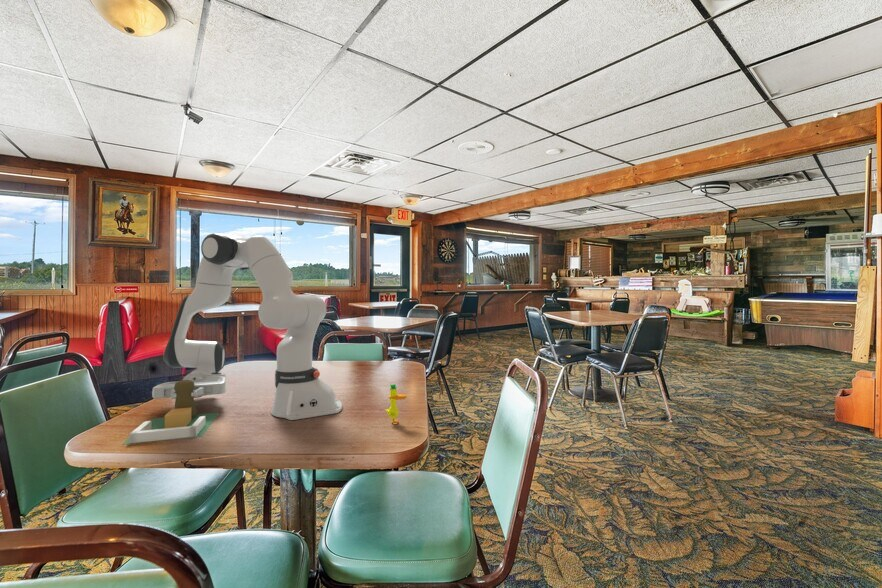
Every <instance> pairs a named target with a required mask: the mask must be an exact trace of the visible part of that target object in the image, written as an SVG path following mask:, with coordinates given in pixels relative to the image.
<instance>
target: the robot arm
mask: <svg viewBox="0 0 882 588" xmlns="http://www.w3.org/2000/svg"><path fill="white" fill-rule="evenodd" d="M200 250H201V255H202V258H201V260H200V263H199V266H198V269H197V273H196V281H195V286H194V289H193V290H192V292H191V293H190V294H188V295H186V296H184V298H183V299H182V301H181V303H180V306H179V308H178V311H177V315H176V316H175V321H174V323H173V327H172V330H171V333H170V336H169V338H168V341H167V344H166V346H165V348H164V351H163V353H162V354H163V355H162V357H163V358H162V359H163V361H164V363H165V364H166V365H167V366H168V367H170V368H172V369H178V368H179V369H181V368H193V369H194V368H195V369H194V370H192V371H190V372H189V373H188V374H186V375H185V376H184V377H183V379H182V380H192V381H193V382H194V389H193V390H192V391H191V397H194V399H199V398H201V397H203V396H205V397H206V396H211V395H223V394H225V393H226V392H227V377H226V373H225V372H221V371H222V370H223V369H224V366H225V363H226V358H227V357H226V355H227V352H226V348H225V347H224V346H223V344H222V343H221V342H220V341H211V340H195V339H194V340H192V339H187V333H188V331H189V327H190V324H191V321H192V319H193V316H195V315H196V314H197V313H200V312H202V311H207V310H211V309H215V308H219V307H220V306H222V305H224V304H226V303H227V302H228V301H229V299H230V297H231V293H232V285H233V284H232V283H233V275H234V272H235V271H237V269H240V270H241V271H244V270H248V269H249V270H250V272H251V274H252V276H253V277H254V279H255V281H256V283H257V285H258V287H259V289H260V291H261V294H262V300H261V302H260V304H259V306H258V312H257V313H258V314H257V315H258V319H259V321H260V323H261V325H263V326H264V327H265V328H267V329H274V330H286V333H285V334H284V336H283V338H282V339H281V341H279V343H278V344H277V347H276V369H275V372H274V387H275V392H274V393H275V394H274V395H275V396H274V400H273V403H272V404H273V405H272V409H271V412H270V414H271V415H272V416H274V417H276V418H283V419H287V420H288V421H294V420H300V419H308V418H314V417H315V418H316V417H320V416H329V415H333V414H334V415H335V414H338V413H339V412H341V411H342V409H343V404H342V402H341V400H339V399H337V398H336V395H335V391H334V389H333V387H332V386H331V385H329V384H328V383H326V382H324V381H323V380H321V379H320V378H319V377H320V375H321V373H320V371H319V369H318V368H317V367H316V368H315V367H314V366H313V348H314V341H315V338H316V334H317V330H318V328H319V326H320V323H321V322H322V321H323V320H324V318H325V317H326V314H327V304H326V302H325V301H324V300H323V298H322V297H319V296H316V295H313V294H303V293H302V294H296V293H295V292H293V290H292V287H291V284H292V282H293V280H294V274H293V272H292V271H291V269H290V268H289V265H288V264H287V263H286V261H285V259H284V258H283V256H282V255H281V253H280V252H279V250H278V249H277V248H276V247H275V245H274V244H273V243H272V242H271V241H270V239H268V238H267V237H265V236H262V235H253V236H250V237H249V238H247V237H244V236H240V235H235V234H226V233H225V234H224V233H222V232H221V233H219V232H218V233H211V234H207V235H206V236H205V237H204V238H203V240H202V242H201V247H200ZM179 381H180V380H178V381H168V382H162V383H160V384H156V386H155V385H154V386H153V387H152V391H151V395H152V399H153V400H154V399H155V400H157V399H173V400H174V399H176V395H177V393H176V391H175V389H174V386H175V384H176V383H177V382H179Z"/></svg>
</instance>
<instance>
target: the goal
mask: <svg viewBox="0 0 882 588" xmlns="http://www.w3.org/2000/svg"><path fill="white" fill-rule="evenodd" d="M205 424H206V416H200V417H199V418H198V419H197V420H196V421H195V422H194V424H193V425H192V426H187V427H177V428H166V429H156V430H151V420H146V421H145V420H144V421H143V422H142V423H141V424H140V425H139V426H138V427H136V428H135V429H133V430H132V431H131V432H130V433H129V437H128V439H129V443H133V444H139V443H138V442H143V443H148V442H147V441H152V442H158V441H157V440H162V441H168V440H167V439H172V440H178V439H177V438H182V439H187V438H186V437H191V438H197V437H196V436H197V434H198V433H199V432H200V431H201V429H202V428H203V427H204V426H205Z"/></svg>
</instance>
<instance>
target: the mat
mask: <svg viewBox="0 0 882 588" xmlns="http://www.w3.org/2000/svg"><path fill="white" fill-rule="evenodd" d="M219 415H220V412H213V413H202V414H196V415H195V416H193V417H191V421H190V422H189V424H188V425H187V426H192V425H193V424H194V422H195V421H196V420H197V419H198V418H199V417H200V416H206V424H205V426H204V427H203V428H202V429H201V431H200V432H199V433H198V434H197V436H196V437H195V438H199V437H203V436H204V434H205V433H206V432H207V431H208V429H209V427H210V426H211V425H212V424H213V422H214V421H215V420H216V418H217V417H218V416H219ZM150 421H151V430H156V429H165V416H164V417H154V418H152V419H151V420H150ZM187 426H186V427H187ZM189 438H190V439H191V438H192V437H186V438H185V439H189ZM181 439H183V438H177V439H176V440H181ZM168 440H173V439H167V440H166V441H168ZM161 441H163V440H157V441H156V442H161ZM150 442H152V443H153V441H147V442H146V443H150ZM141 443H144V442H138V443H137V444H141ZM131 444H134V443H129V438H128V439H127V440H126V441H124V442H123V443H122V444H121V445H123V446H124V445H131Z"/></svg>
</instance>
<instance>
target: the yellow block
mask: <svg viewBox="0 0 882 588" xmlns="http://www.w3.org/2000/svg"><path fill="white" fill-rule="evenodd" d="M164 417H165V429H166V428H177V427H186V426H187V425H188V424H189V422H190V421H191V407H190V408H178V409H174V408H171V409H170V410H169V411H168V412H167V413H166V414H165V415H164Z"/></svg>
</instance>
